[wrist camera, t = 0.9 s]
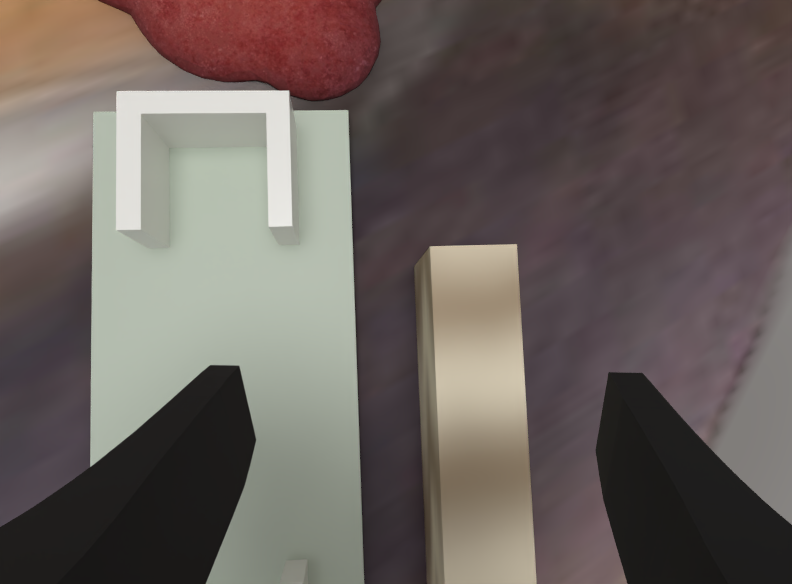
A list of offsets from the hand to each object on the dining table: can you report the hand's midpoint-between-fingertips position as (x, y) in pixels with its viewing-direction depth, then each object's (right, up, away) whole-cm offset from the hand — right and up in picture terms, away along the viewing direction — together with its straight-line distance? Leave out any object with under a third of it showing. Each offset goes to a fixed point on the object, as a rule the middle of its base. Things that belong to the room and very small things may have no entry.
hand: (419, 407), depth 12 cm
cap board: (-7, -2, +12) cm, 14 cm away
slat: (+2, -5, +13) cm, 14 cm away
